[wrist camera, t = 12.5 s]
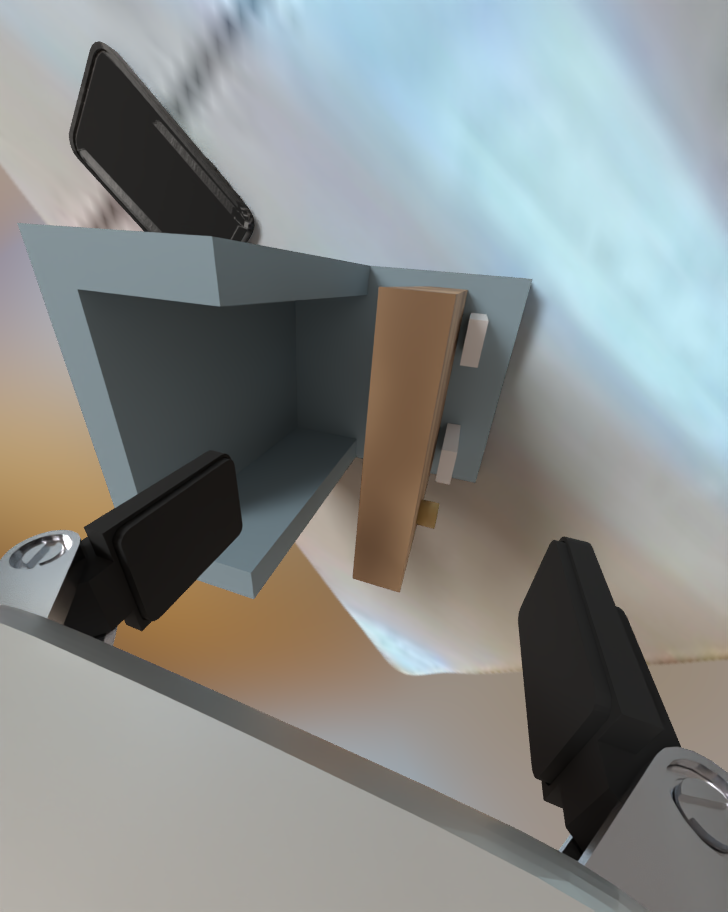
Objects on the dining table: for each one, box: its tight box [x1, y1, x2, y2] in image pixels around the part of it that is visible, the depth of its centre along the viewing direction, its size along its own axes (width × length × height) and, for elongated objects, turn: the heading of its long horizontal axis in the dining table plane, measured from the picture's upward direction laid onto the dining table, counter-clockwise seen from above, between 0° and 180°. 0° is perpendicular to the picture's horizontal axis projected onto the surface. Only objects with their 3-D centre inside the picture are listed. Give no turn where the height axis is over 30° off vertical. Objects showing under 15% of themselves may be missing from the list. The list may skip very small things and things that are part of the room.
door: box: [353, 286, 468, 592], centre depth 19 cm, size 3×13×14 cm, turn 175°
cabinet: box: [18, 223, 532, 599], centre depth 20 cm, size 18×15×18 cm
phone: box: [69, 41, 254, 243], centre depth 26 cm, size 8×1×15 cm
